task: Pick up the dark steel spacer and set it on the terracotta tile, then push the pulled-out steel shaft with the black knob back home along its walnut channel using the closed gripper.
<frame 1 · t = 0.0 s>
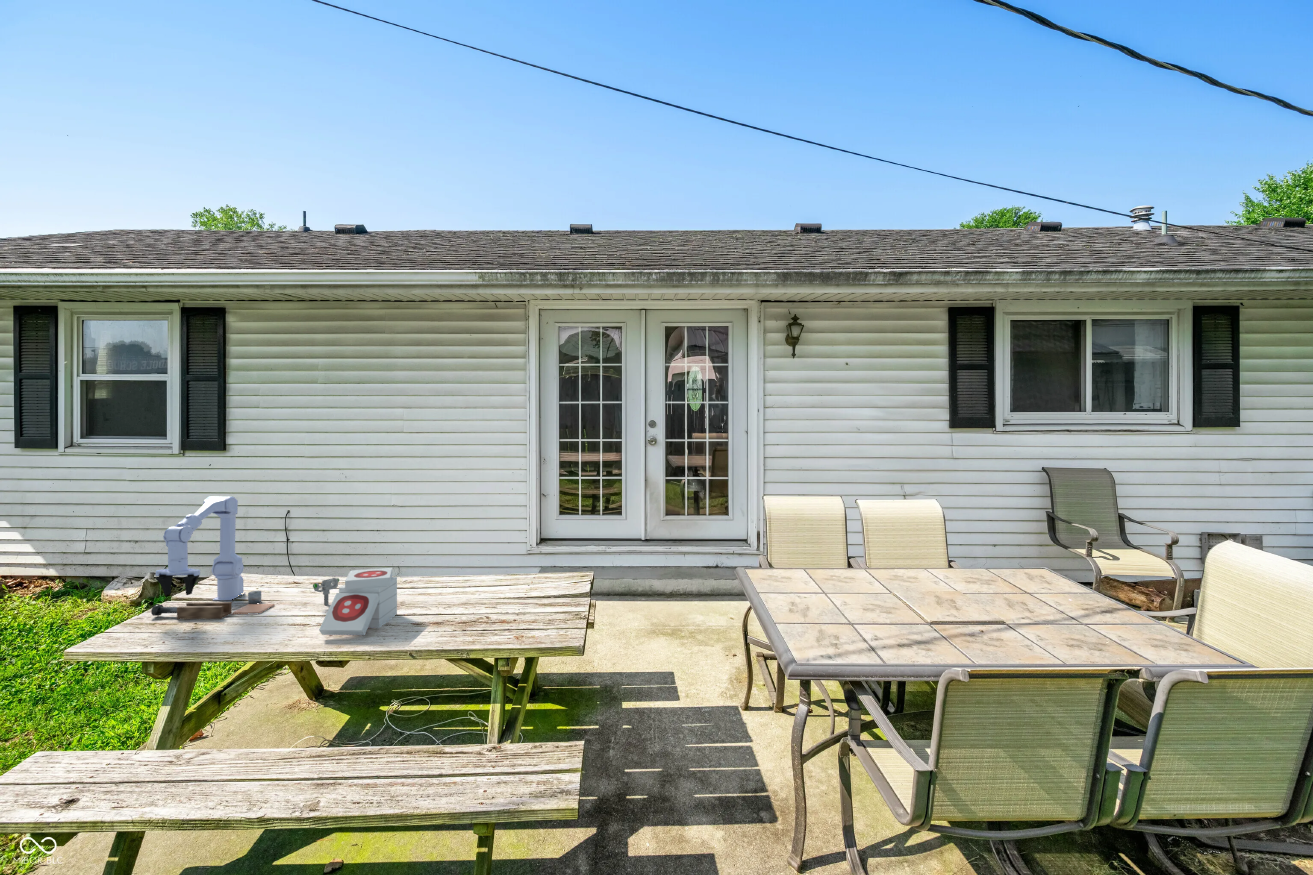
hand: (178, 594, 219), 10 cm above the table, tool pointing down, fingers open, 7 cm apart
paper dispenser: (362, 626, 217), on the table
terracotta tile: (254, 609, 232), on the table
mechanical component: (326, 605, 240), on the table
shaft housing: (204, 616, 225), on the table
steel spacer: (254, 602, 241), on the table
shaft: (182, 609, 224), point 3 cm above the table, slide at 8.0 cm
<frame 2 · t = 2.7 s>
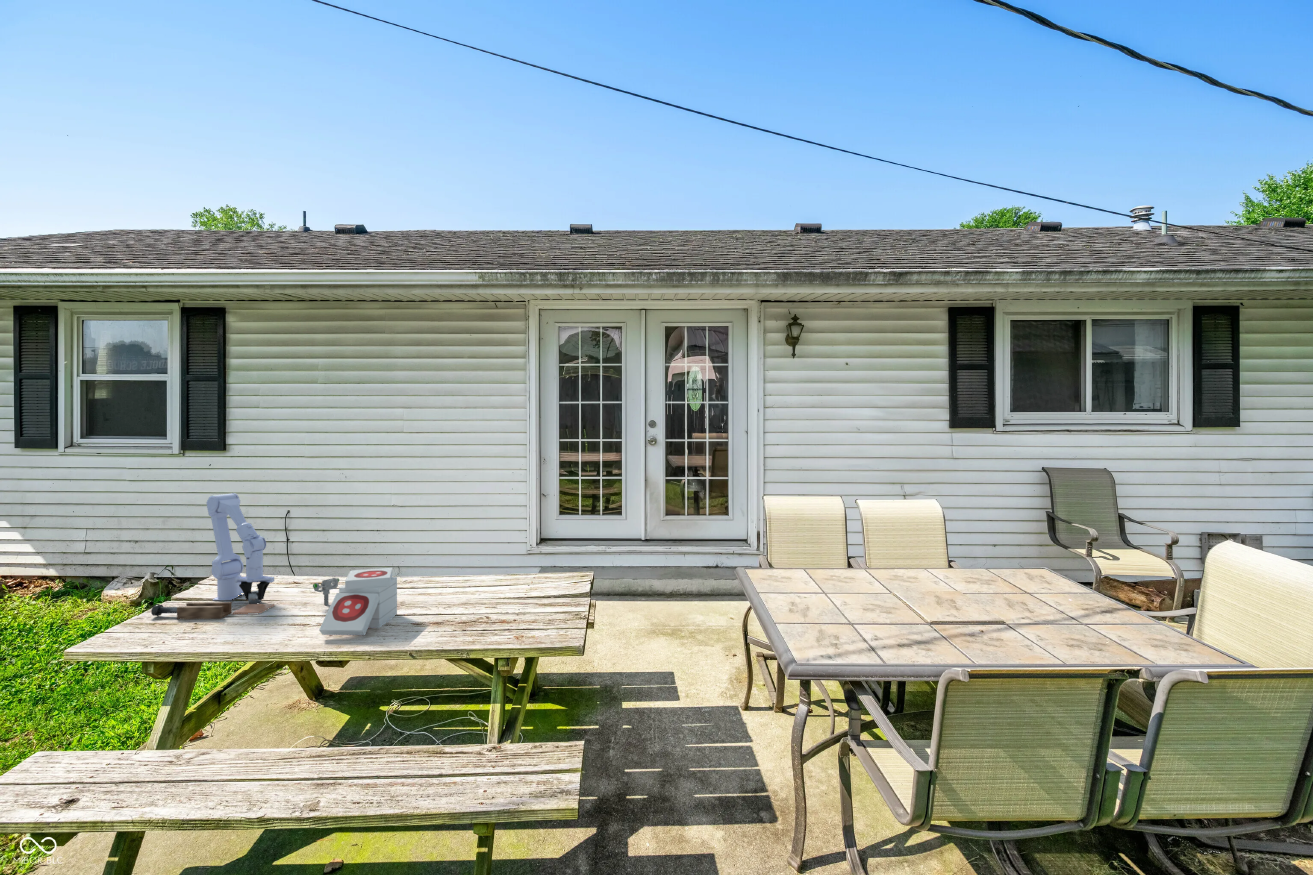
hand: (254, 599, 241), 1 cm above the table, tool pointing down, fingers closed on steel spacer, 4 cm apart
steel spacer: (254, 602, 241), on the table, touching gripper
everything else where it was.
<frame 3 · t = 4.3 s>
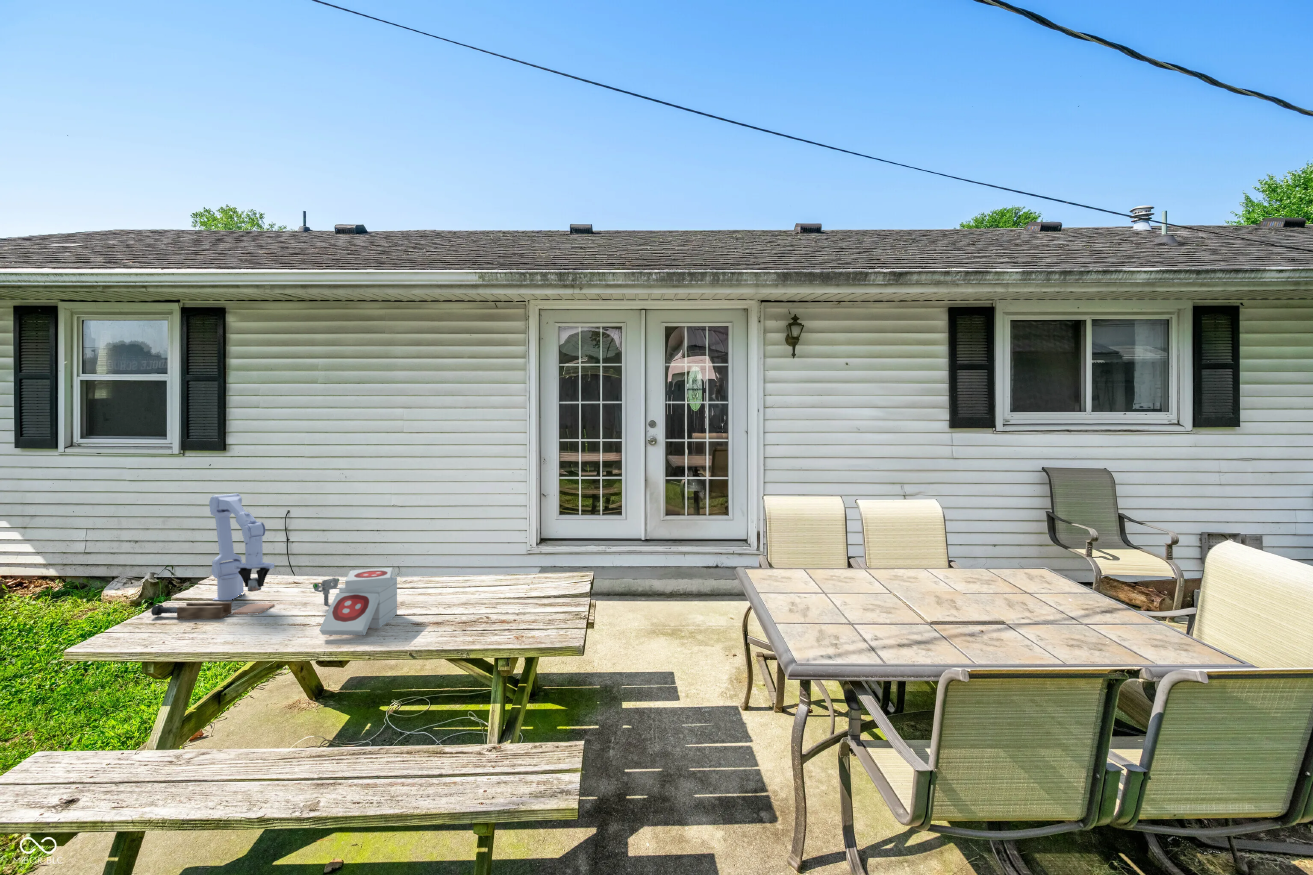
hand: (254, 586, 235), 9 cm above the table, tool pointing down, fingers closed on steel spacer, 4 cm apart
steel spacer: (254, 589, 235), point 7 cm above the table, touching gripper
everything else where it was.
when the fingers open (3 cm above the table, at t = 6.0 s): steel spacer drops 1 cm, resting on terracotta tile.
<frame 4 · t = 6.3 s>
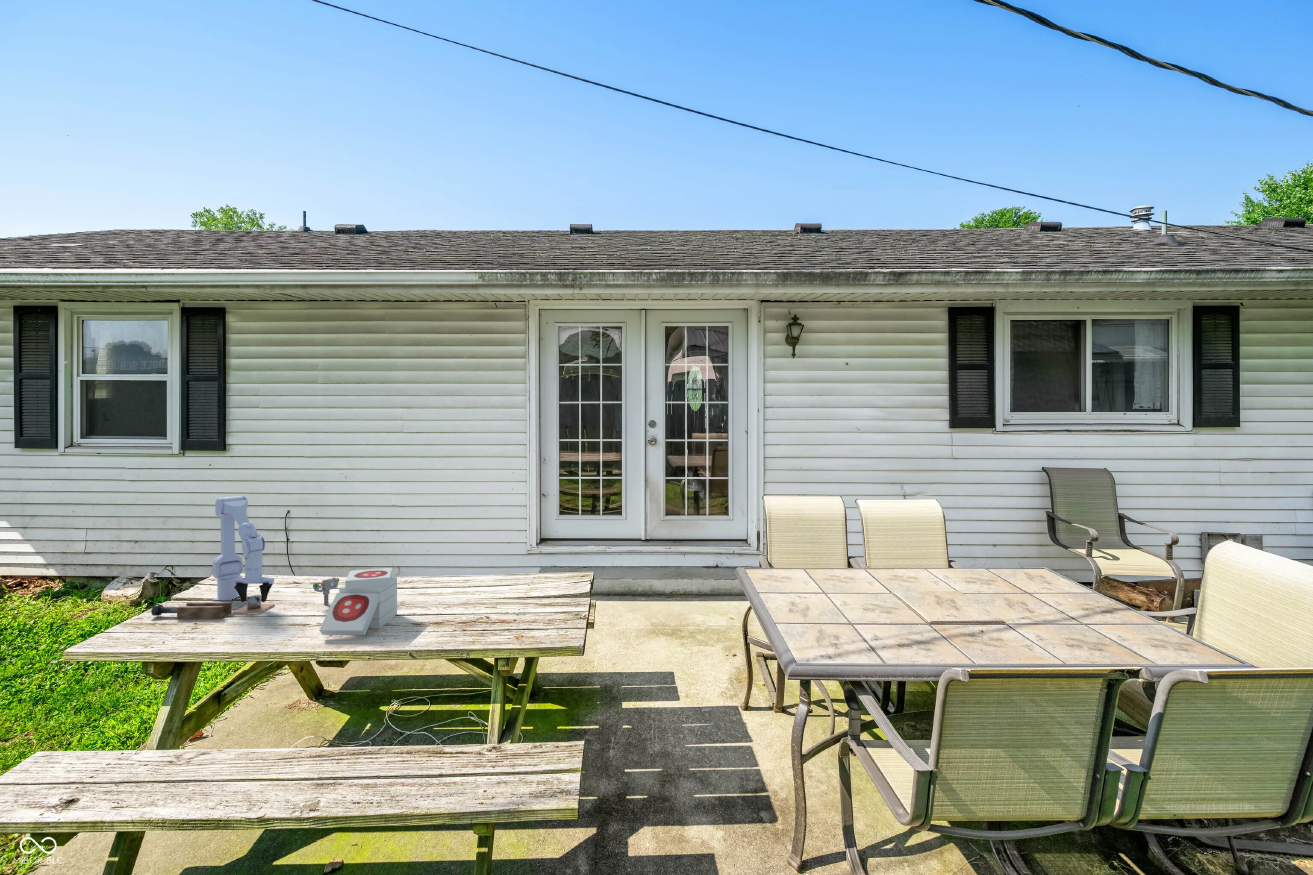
hand: (253, 601, 232), 3 cm above the table, tool pointing down, fingers open, 7 cm apart
steel spacer: (254, 607, 233), point 1 cm above the table, touching terracotta tile
everything else where it was.
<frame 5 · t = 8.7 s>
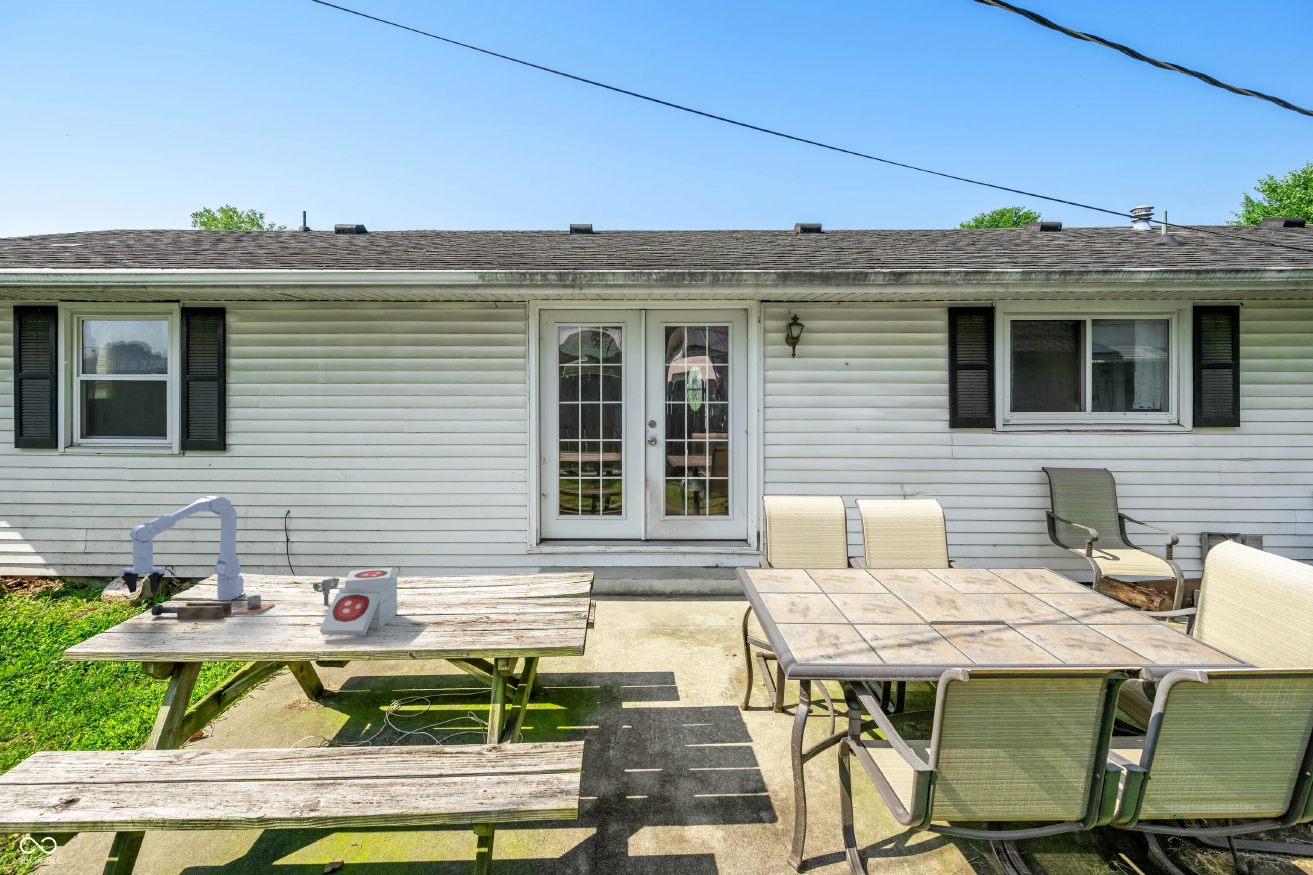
hand: (143, 592, 223), 9 cm above the table, tool pointing down, fingers open, 7 cm apart
nothing on the table moved.
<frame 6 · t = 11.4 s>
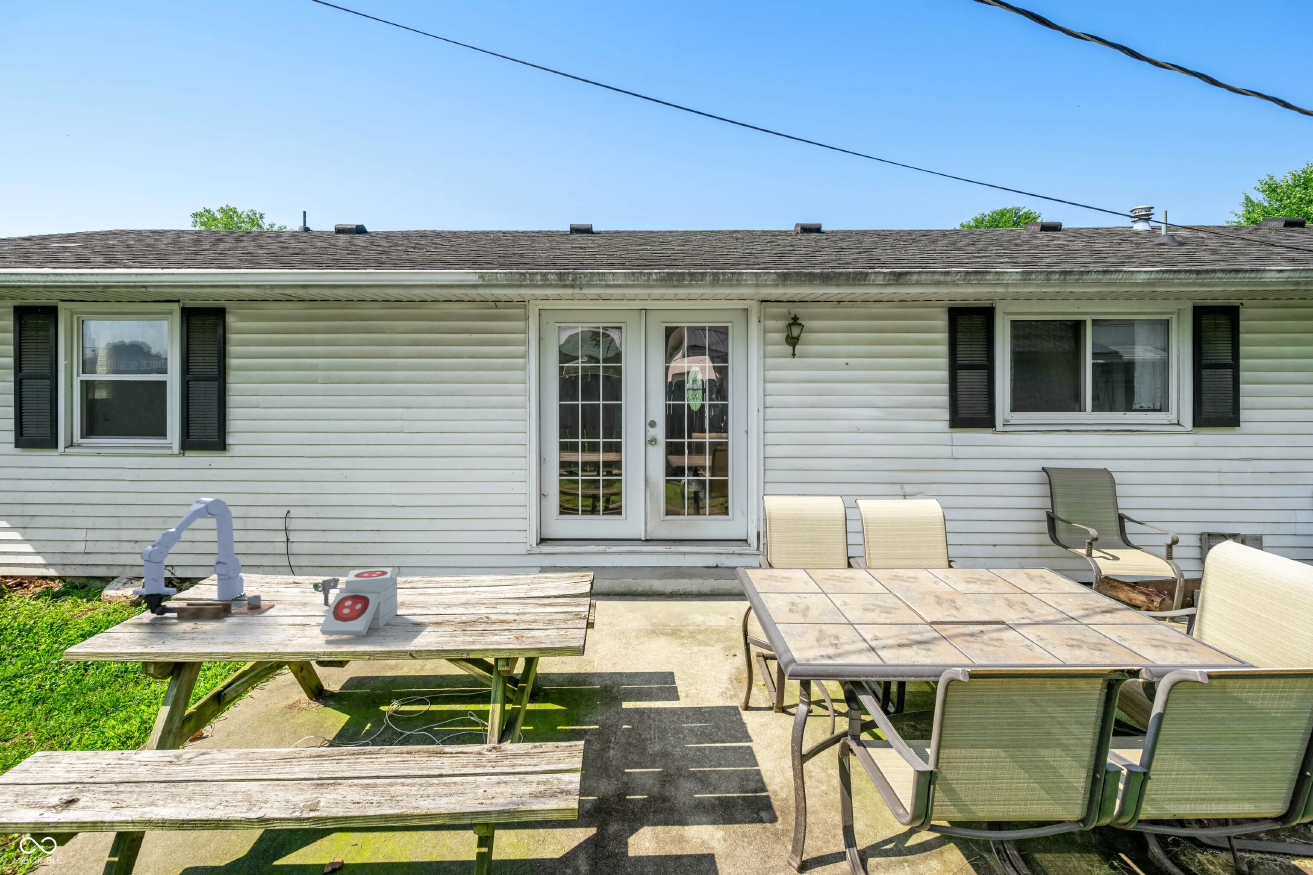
hand: (154, 613, 223), 1 cm above the table, tool pointing down, fingers closed
shaft: (186, 609, 224), point 3 cm above the table, slide at 6.6 cm, touching gripper
everything else where it was.
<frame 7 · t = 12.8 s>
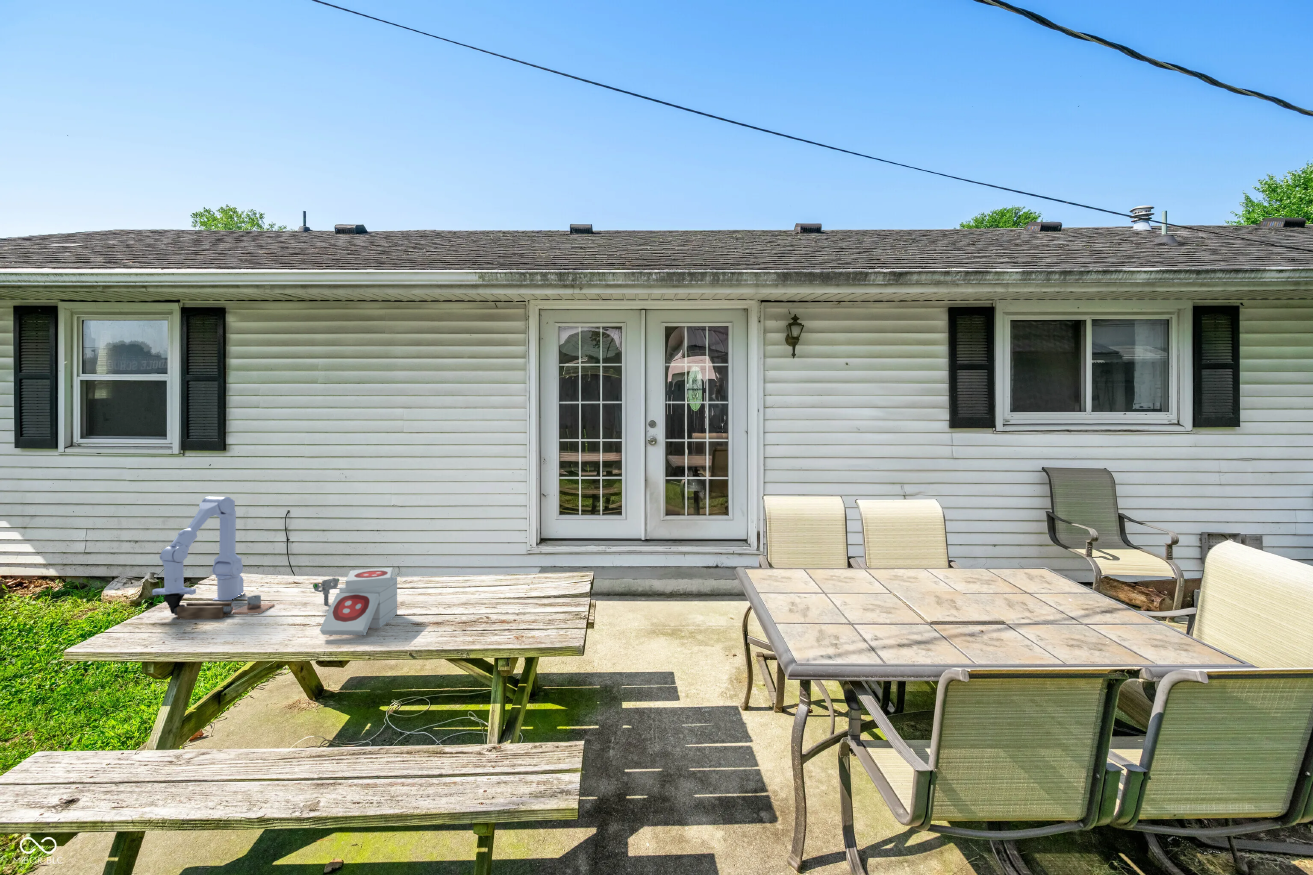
hand: (174, 612, 224), 1 cm above the table, tool pointing down, fingers closed
shaft: (204, 609, 224), point 3 cm above the table, slide at -0.1 cm, touching gripper
everything else where it was.
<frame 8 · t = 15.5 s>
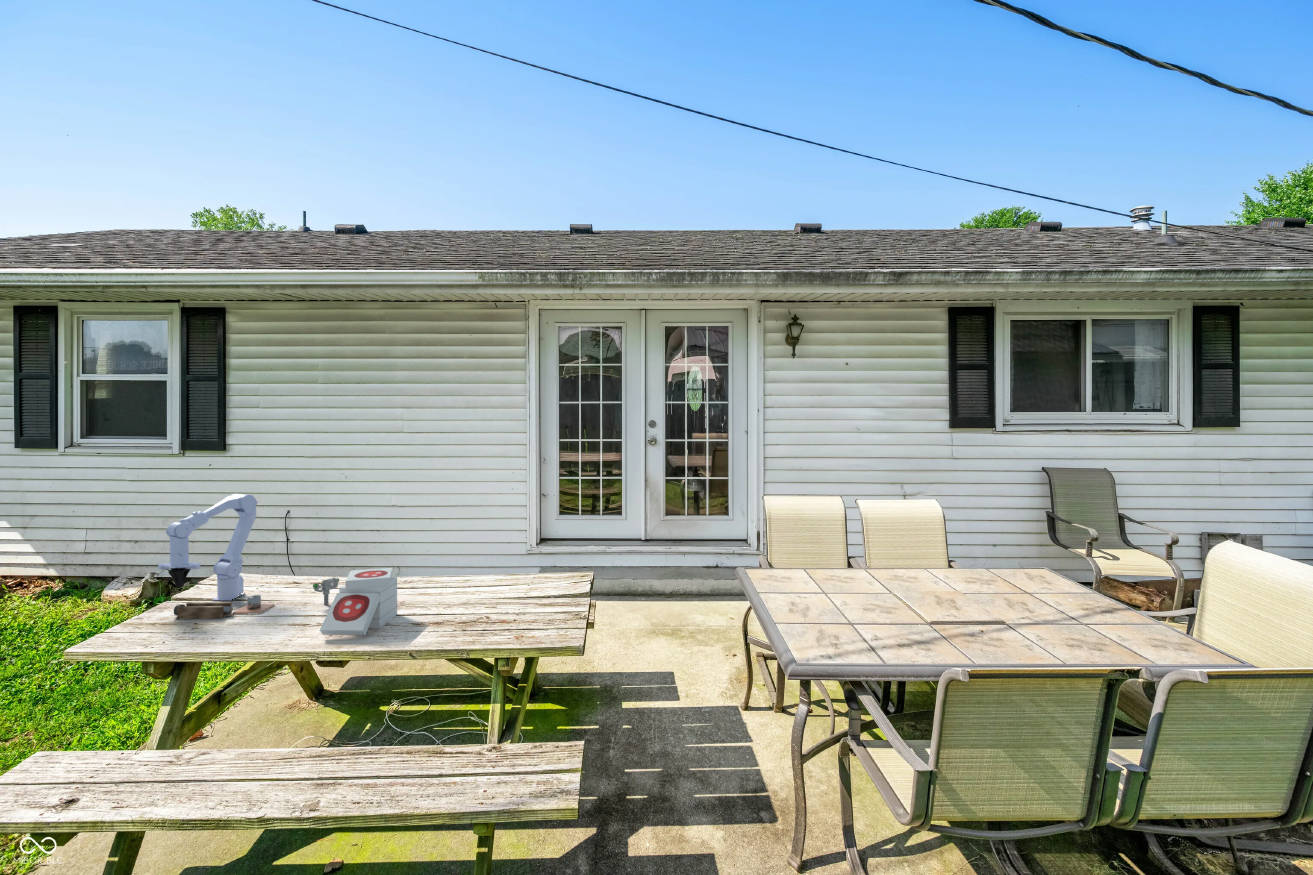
hand: (179, 586, 230), 9 cm above the table, tool pointing down, fingers closed
shaft: (204, 609, 224), point 3 cm above the table, slide at 0.0 cm
everything else where it was.
at the end: steel spacer inside the target area on the terracotta tile (0.1 cm from its centre), point 0.8 cm above the terracotta tile's base; steel spacer tilted 0°; shaft slide at 0.0 cm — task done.
